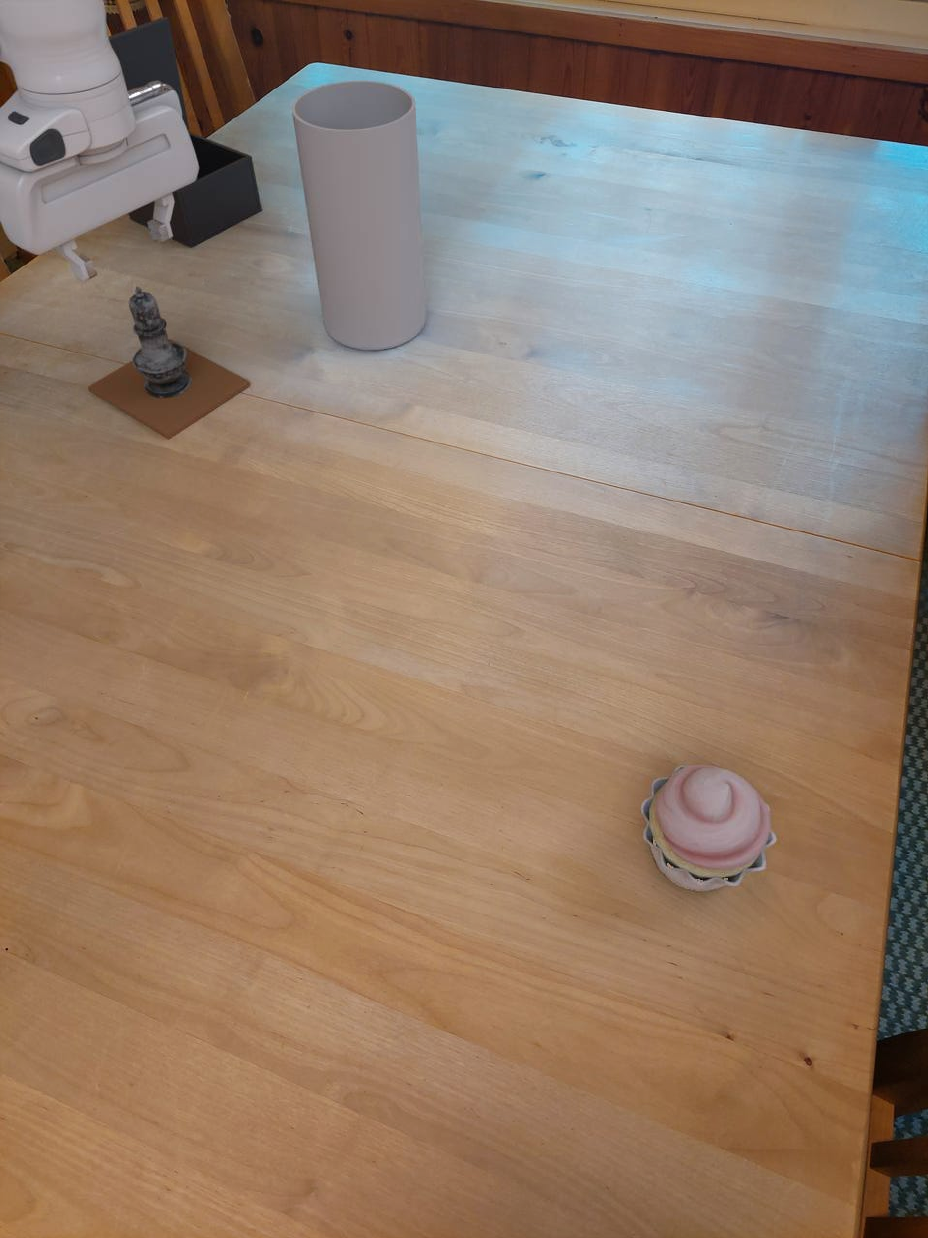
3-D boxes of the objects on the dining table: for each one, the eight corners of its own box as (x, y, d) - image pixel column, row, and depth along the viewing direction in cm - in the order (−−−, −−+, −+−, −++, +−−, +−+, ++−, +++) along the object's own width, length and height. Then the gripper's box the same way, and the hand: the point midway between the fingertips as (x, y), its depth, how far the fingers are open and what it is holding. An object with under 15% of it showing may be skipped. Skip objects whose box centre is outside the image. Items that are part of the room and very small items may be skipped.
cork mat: (88, 391, 103) (87, 386, 102) (170, 342, 108) (169, 338, 108) (168, 439, 97) (167, 435, 96) (250, 385, 103) (249, 381, 102)
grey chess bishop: (132, 395, 101) (97, 298, 92) (156, 365, 104) (124, 268, 95) (180, 402, 100) (150, 305, 91) (202, 371, 104) (175, 275, 94)
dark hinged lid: (168, 17, 117) (164, 15, 117) (84, 48, 110) (80, 46, 111) (189, 128, 128) (185, 126, 128) (114, 162, 122) (110, 160, 122)
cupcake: (755, 930, 62) (794, 869, 55) (621, 895, 64) (641, 832, 56) (764, 812, 68) (801, 742, 60) (641, 783, 70) (661, 711, 62)
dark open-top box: (262, 210, 129) (251, 155, 123) (191, 247, 123) (176, 192, 117) (201, 184, 134) (188, 130, 129) (130, 219, 128) (113, 164, 122)
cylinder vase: (438, 342, 108) (428, 121, 88) (335, 361, 106) (303, 138, 86) (412, 289, 115) (398, 74, 96) (316, 305, 113) (282, 88, 94)
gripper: (150, 65, 86) (185, 208, 97) (-43, 139, 76) (20, 289, 87) (194, 82, 84) (225, 226, 94) (1, 160, 73) (60, 311, 84)
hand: (125, 257), depth 90 cm, fingers open, 8 cm apart
